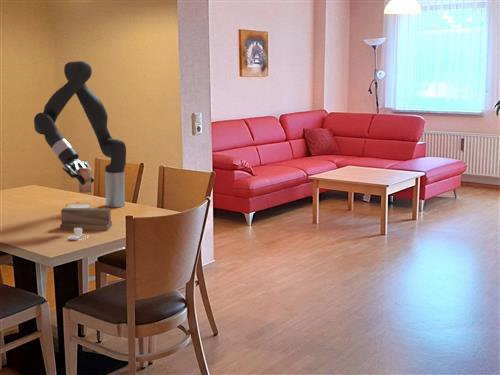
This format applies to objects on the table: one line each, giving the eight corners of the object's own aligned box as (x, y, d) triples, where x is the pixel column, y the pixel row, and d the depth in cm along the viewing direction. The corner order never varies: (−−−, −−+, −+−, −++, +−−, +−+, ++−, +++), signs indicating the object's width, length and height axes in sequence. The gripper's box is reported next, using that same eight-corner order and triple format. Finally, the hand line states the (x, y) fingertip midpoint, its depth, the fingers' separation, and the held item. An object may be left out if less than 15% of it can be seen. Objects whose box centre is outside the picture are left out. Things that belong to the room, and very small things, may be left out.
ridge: (66, 224, 269) (65, 206, 268) (112, 225, 270) (111, 207, 268) (60, 229, 260) (59, 211, 259) (107, 230, 261) (107, 211, 259)
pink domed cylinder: (80, 190, 265) (80, 167, 263) (92, 190, 265) (92, 167, 263) (77, 192, 260) (77, 169, 258) (89, 192, 260) (89, 169, 258)
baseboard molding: (60, 223, 273) (87, 222, 276) (59, 217, 273) (87, 216, 275) (64, 208, 303) (89, 207, 306) (64, 202, 302) (89, 201, 305)
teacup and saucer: (73, 242, 243) (73, 232, 242) (62, 238, 248) (62, 229, 247) (92, 238, 250) (92, 228, 249) (81, 234, 255) (80, 225, 254)
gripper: (58, 148, 255) (82, 179, 253) (80, 144, 268) (104, 174, 266) (48, 160, 258) (72, 190, 256) (71, 156, 271) (94, 185, 269)
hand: (88, 182), depth 261 cm, fingers closed on pink domed cylinder, 5 cm apart
